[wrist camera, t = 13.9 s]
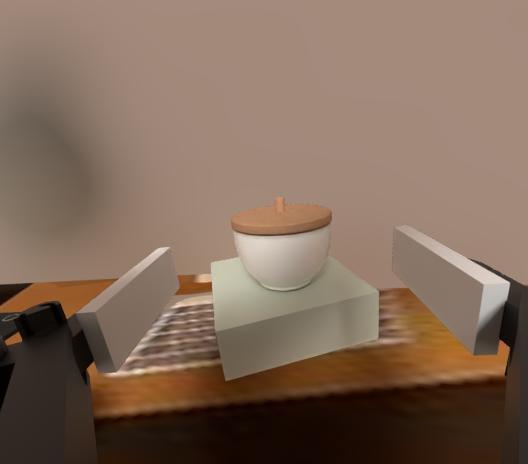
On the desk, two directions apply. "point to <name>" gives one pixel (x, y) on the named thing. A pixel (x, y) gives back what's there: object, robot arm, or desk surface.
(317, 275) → the sage box
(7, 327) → the cell phone
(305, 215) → the lidded jar
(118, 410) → the desk surface
